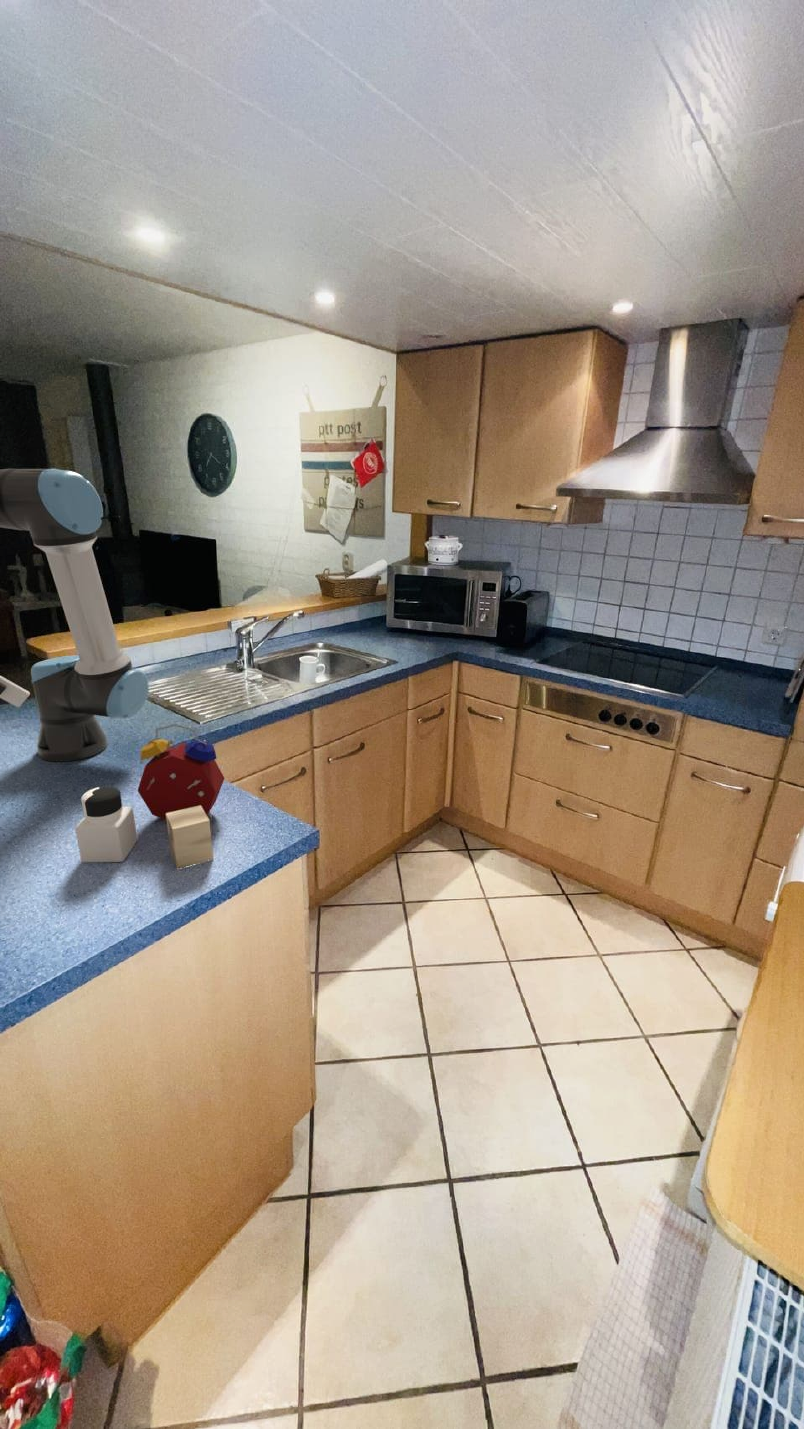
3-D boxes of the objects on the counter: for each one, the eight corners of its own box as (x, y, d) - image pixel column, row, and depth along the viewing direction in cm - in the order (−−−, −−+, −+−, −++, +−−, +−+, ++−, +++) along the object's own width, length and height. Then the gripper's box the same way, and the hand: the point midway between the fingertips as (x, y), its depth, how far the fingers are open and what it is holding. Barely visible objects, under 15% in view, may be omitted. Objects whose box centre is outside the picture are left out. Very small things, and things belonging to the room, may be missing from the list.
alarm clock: (227, 810, 119) (219, 718, 112) (215, 833, 111) (205, 736, 104) (155, 808, 119) (142, 716, 112) (136, 831, 111) (122, 734, 104)
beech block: (170, 852, 105) (165, 813, 102) (204, 843, 108) (200, 805, 105) (177, 869, 100) (172, 829, 97) (213, 859, 103) (209, 820, 100)
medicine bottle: (138, 840, 108) (129, 782, 104) (123, 862, 102) (113, 801, 97) (98, 840, 108) (88, 782, 104) (80, 863, 101) (68, 801, 97)
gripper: (-153, 619, 86) (8, 705, 100) (-174, 638, 76) (8, 731, 90) (-117, 580, 86) (37, 671, 101) (-134, 594, 76) (41, 693, 91)
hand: (23, 699), depth 95 cm, fingers closed
